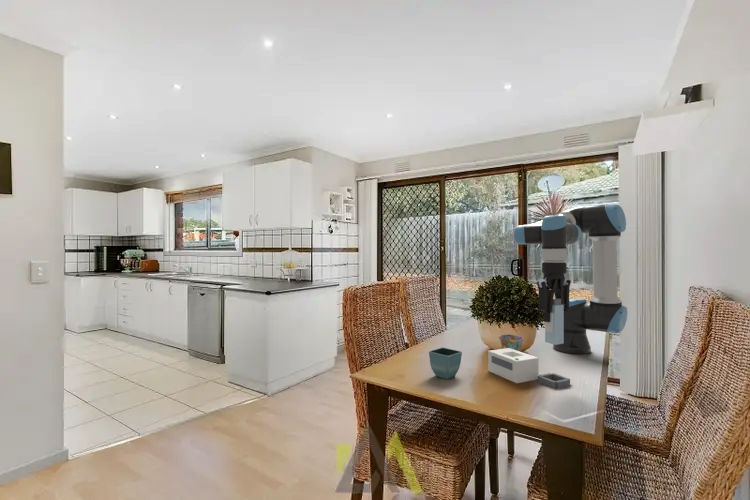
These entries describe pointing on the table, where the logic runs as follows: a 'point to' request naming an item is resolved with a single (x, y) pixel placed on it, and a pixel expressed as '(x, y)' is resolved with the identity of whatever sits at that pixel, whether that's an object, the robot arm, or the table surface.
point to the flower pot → (445, 362)
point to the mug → (511, 341)
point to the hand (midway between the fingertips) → (554, 330)
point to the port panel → (513, 365)
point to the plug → (556, 324)
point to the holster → (554, 380)
